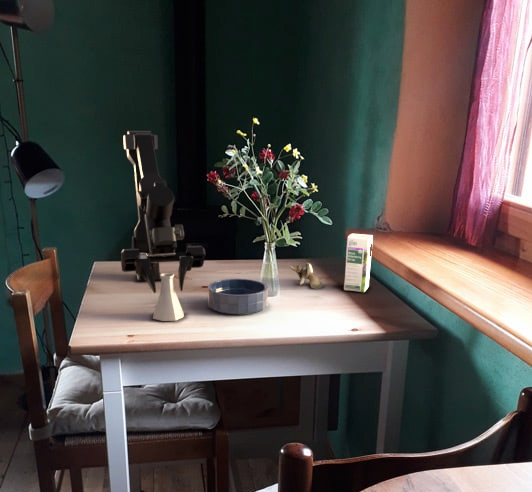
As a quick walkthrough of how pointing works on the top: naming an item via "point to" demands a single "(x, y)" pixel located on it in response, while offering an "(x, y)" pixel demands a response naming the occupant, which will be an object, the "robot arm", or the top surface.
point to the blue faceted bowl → (237, 296)
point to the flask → (168, 301)
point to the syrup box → (358, 262)
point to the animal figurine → (308, 276)
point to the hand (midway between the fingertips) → (168, 291)
